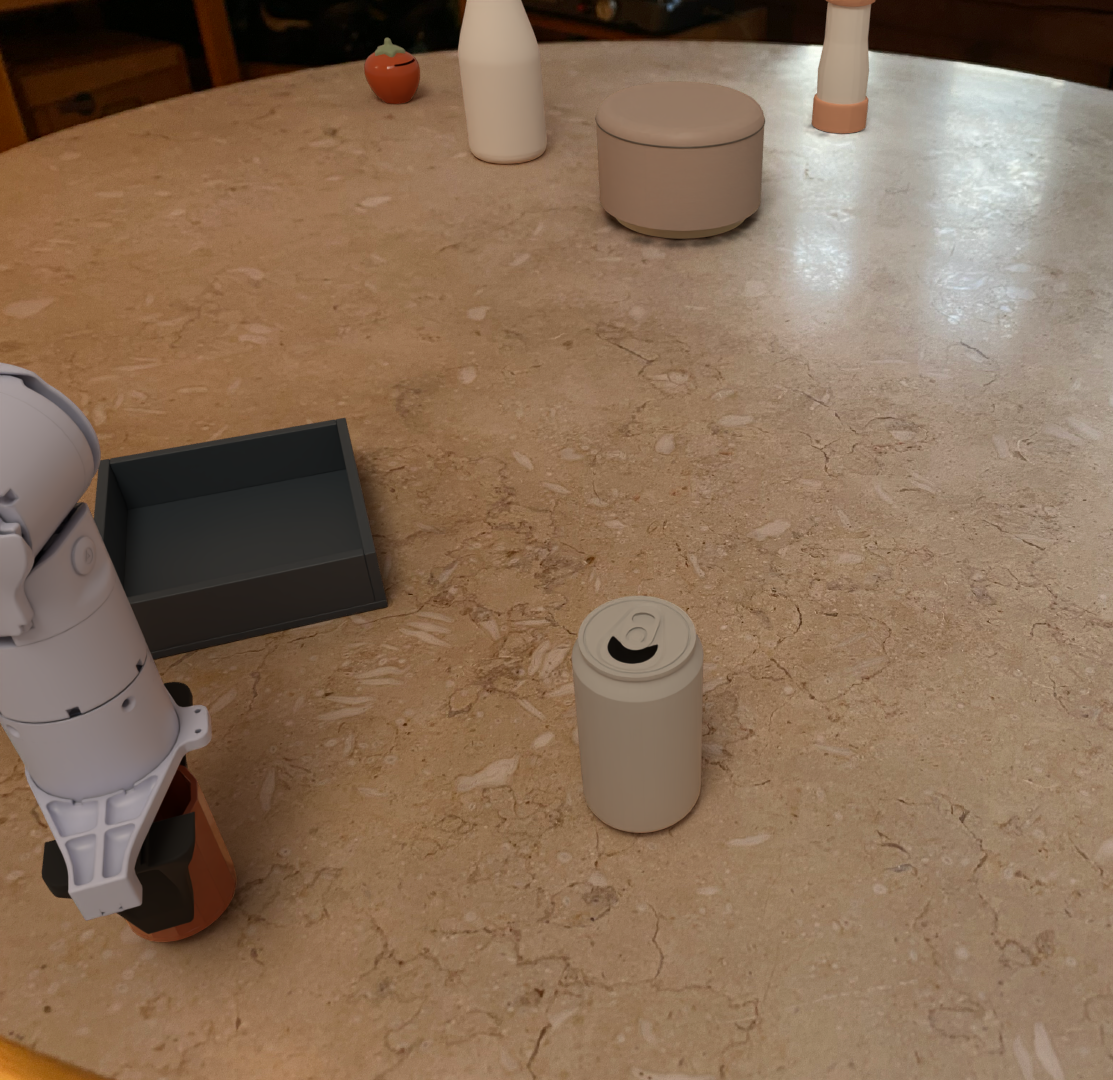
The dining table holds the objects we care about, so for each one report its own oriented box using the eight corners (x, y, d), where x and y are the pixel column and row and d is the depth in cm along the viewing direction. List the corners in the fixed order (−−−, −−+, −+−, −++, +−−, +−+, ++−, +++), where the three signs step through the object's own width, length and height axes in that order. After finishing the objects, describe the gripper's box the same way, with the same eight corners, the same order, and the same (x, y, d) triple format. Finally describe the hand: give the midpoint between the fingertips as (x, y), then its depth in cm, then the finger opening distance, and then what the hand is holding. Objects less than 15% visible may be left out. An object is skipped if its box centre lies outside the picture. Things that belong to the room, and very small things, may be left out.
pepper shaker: (801, 125, 145) (811, -34, 133) (830, 112, 150) (843, -43, 138) (847, 137, 142) (862, -25, 130) (876, 123, 146) (893, -35, 134)
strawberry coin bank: (397, 111, 146) (387, 48, 141) (357, 101, 149) (346, 39, 144) (435, 97, 151) (427, 36, 146) (396, 88, 154) (386, 27, 149)
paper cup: (124, 957, 50) (70, 868, 46) (127, 867, 54) (78, 777, 49) (239, 923, 52) (198, 834, 47) (234, 838, 55) (196, 748, 51)
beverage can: (567, 827, 57) (549, 667, 50) (605, 736, 62) (595, 578, 55) (683, 853, 56) (684, 694, 49) (713, 759, 61) (718, 601, 54)
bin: (110, 669, 66) (84, 613, 63) (120, 513, 77) (98, 460, 75) (388, 606, 70) (375, 552, 68) (357, 468, 82) (345, 417, 79)
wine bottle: (527, 170, 130) (501, -120, 112) (456, 160, 133) (418, -126, 114) (560, 145, 138) (540, -132, 119) (492, 135, 140) (462, -138, 121)
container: (789, 228, 119) (796, 119, 111) (636, 255, 112) (633, 141, 105) (718, 172, 131) (720, 70, 124) (577, 194, 125) (570, 88, 118)
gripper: (179, 779, 39) (269, 979, 47) (177, 539, 49) (251, 737, 58) (-46, 837, 37) (90, 1034, 45) (2, 573, 47) (105, 774, 56)
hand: (169, 871), depth 51 cm, fingers closed on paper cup, 5 cm apart
